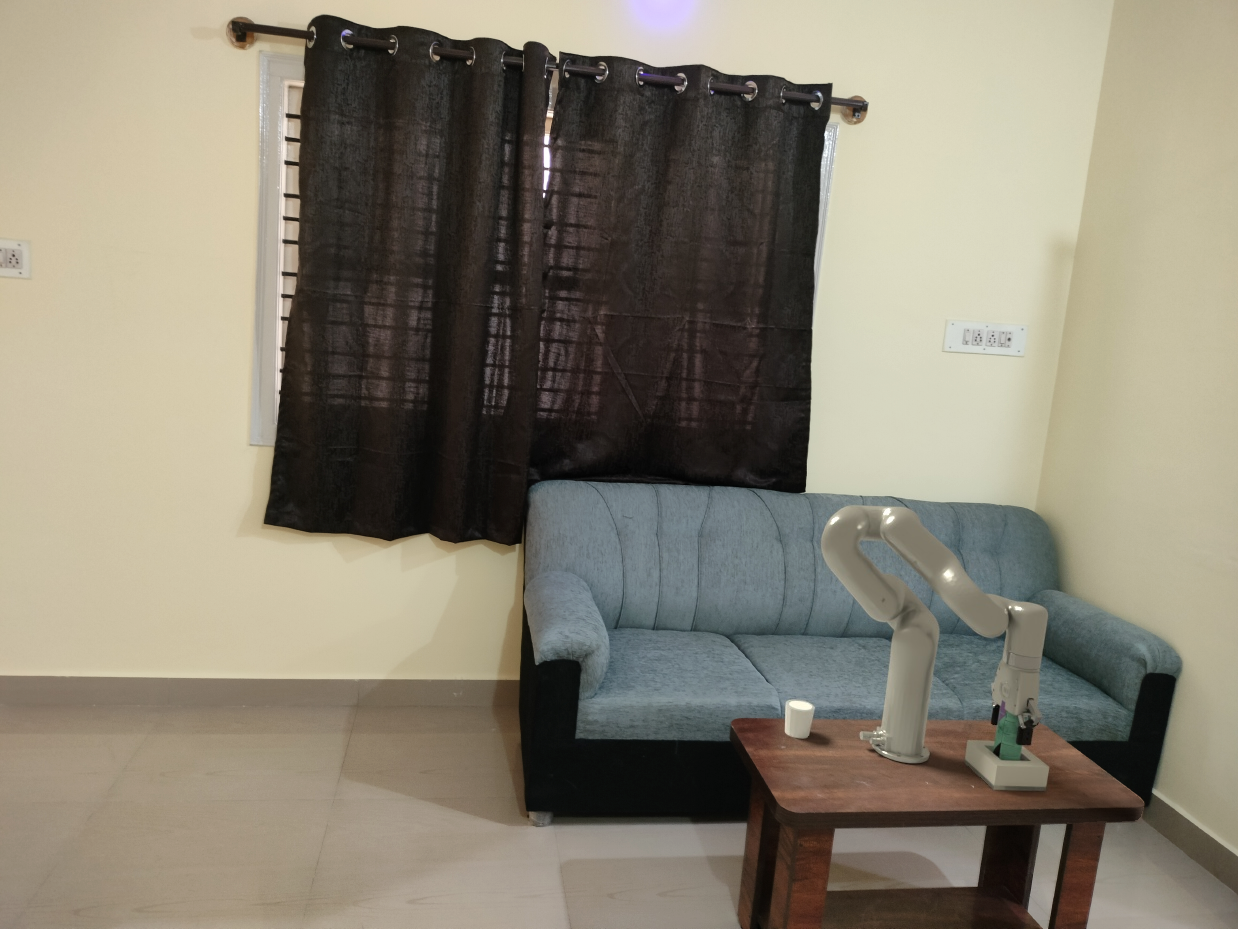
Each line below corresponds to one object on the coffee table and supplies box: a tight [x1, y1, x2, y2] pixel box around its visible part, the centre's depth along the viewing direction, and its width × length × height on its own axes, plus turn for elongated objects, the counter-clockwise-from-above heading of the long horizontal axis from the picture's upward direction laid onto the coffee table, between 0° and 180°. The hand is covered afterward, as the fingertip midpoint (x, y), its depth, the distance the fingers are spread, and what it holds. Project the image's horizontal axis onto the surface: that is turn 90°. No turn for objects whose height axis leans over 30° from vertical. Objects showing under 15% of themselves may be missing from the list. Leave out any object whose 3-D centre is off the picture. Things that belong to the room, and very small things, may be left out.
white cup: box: [784, 699, 816, 739], centre depth 202 cm, size 7×7×7 cm
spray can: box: [993, 695, 1028, 761], centre depth 187 cm, size 6×6×20 cm
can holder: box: [963, 739, 1050, 792], centre depth 189 cm, size 12×12×6 cm
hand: (1010, 734), depth 188 cm, fingers open, 9 cm apart
